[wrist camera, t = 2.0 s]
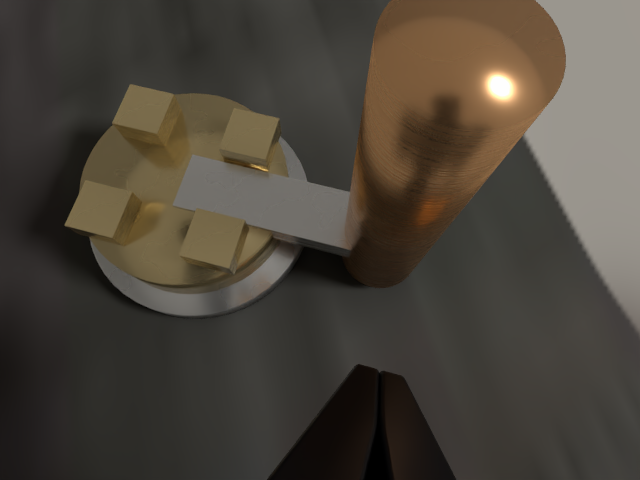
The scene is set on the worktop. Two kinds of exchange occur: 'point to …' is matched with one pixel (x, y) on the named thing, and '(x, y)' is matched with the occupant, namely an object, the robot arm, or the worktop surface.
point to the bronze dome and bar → (312, 199)
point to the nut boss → (224, 298)
